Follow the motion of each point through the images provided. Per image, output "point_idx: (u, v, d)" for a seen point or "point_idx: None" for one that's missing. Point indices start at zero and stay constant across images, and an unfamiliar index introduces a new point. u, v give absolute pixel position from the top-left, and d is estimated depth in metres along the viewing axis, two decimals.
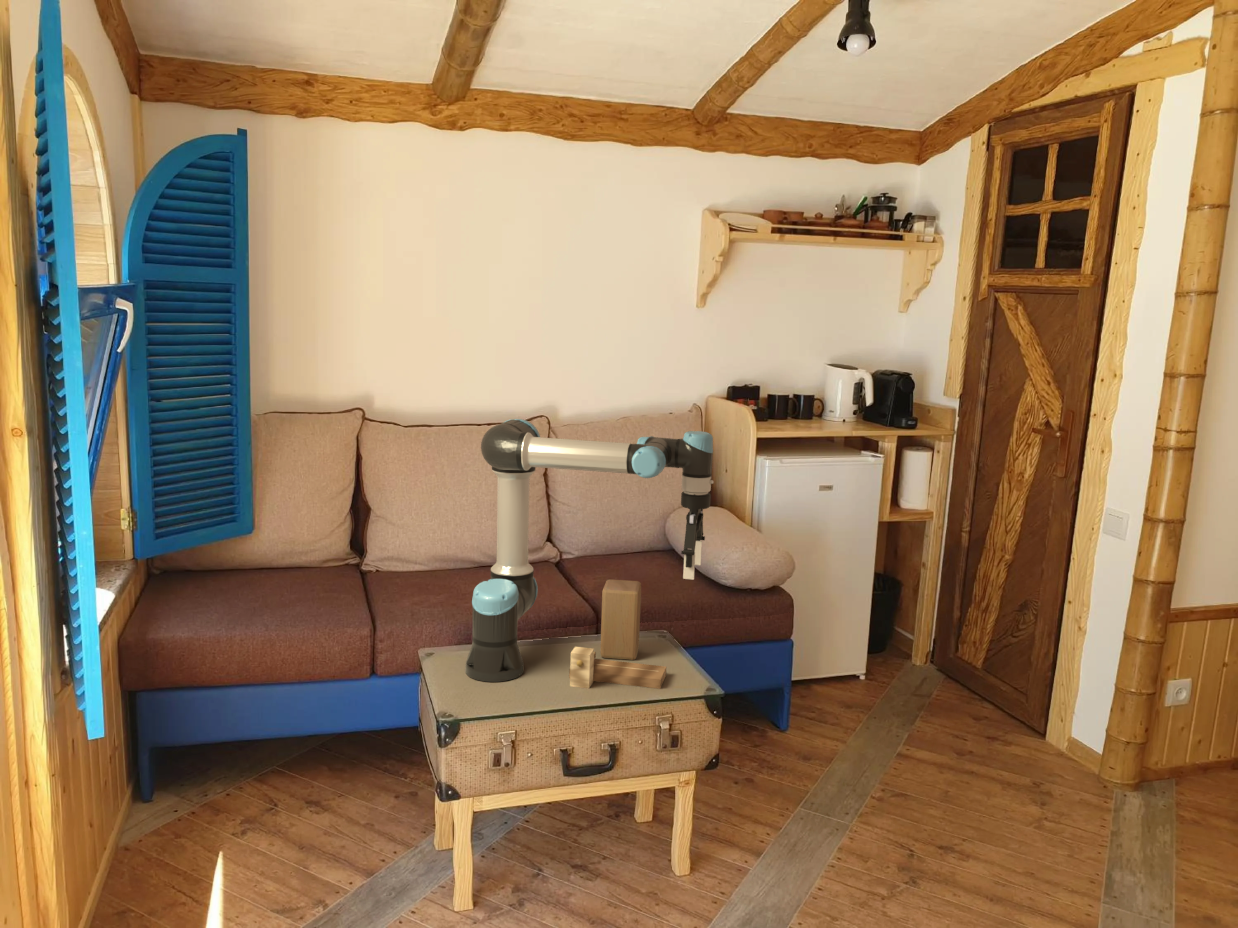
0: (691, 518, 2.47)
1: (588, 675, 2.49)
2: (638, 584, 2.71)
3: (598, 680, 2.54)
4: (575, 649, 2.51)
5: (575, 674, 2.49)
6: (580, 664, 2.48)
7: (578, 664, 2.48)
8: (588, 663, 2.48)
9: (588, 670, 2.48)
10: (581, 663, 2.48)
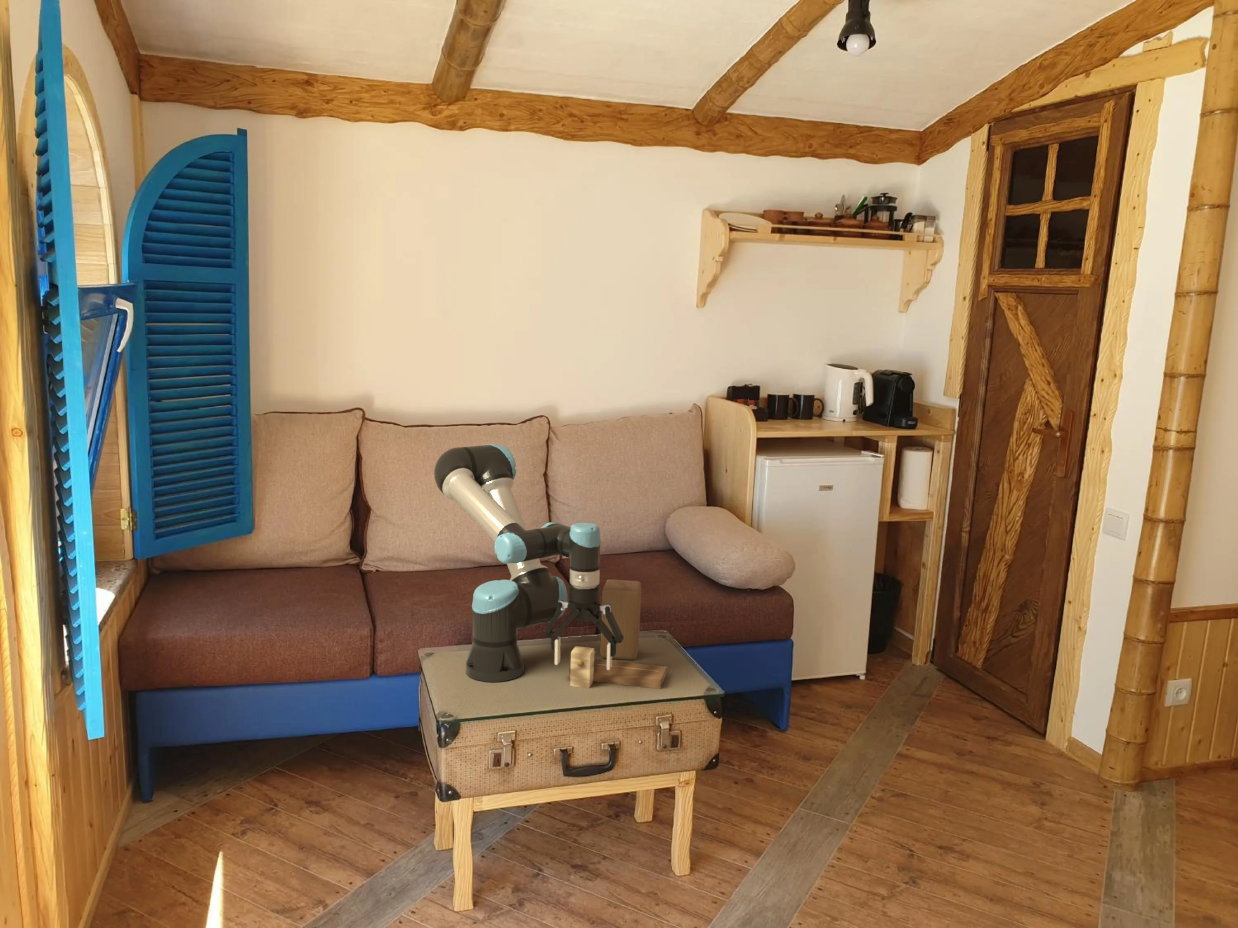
0: None
1: (588, 675, 2.49)
2: (638, 584, 2.71)
3: (598, 680, 2.54)
4: (575, 649, 2.51)
5: (575, 674, 2.50)
6: (580, 663, 2.49)
7: (578, 664, 2.49)
8: (588, 663, 2.48)
9: (588, 670, 2.49)
10: (581, 663, 2.48)
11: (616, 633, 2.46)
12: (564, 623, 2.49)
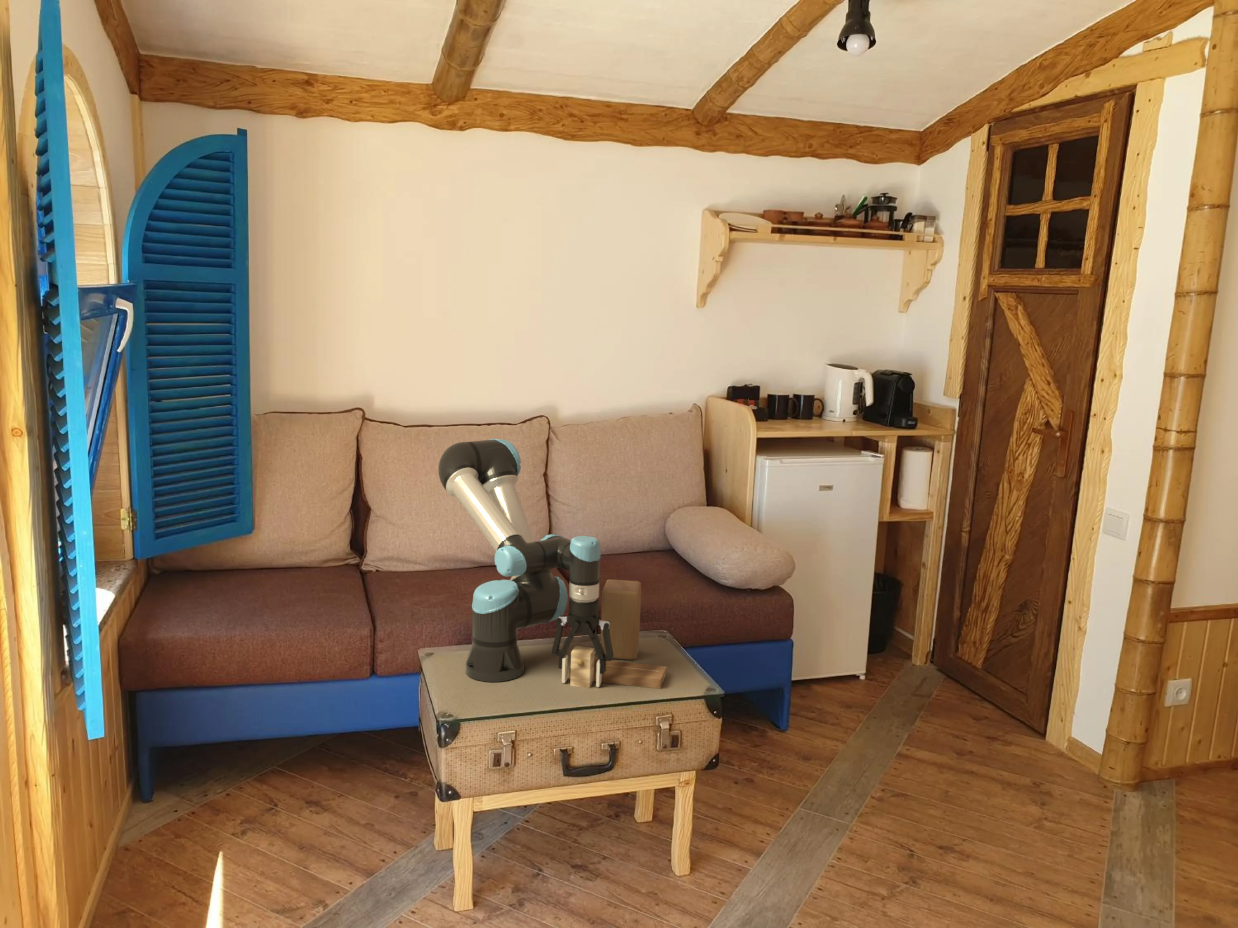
0: None
1: (588, 674, 2.49)
2: (638, 584, 2.71)
3: None
4: (575, 648, 2.51)
5: (575, 674, 2.50)
6: (580, 663, 2.49)
7: (578, 663, 2.49)
8: (588, 662, 2.49)
9: (588, 669, 2.49)
10: (581, 662, 2.49)
11: (608, 651, 2.48)
12: (567, 639, 2.49)
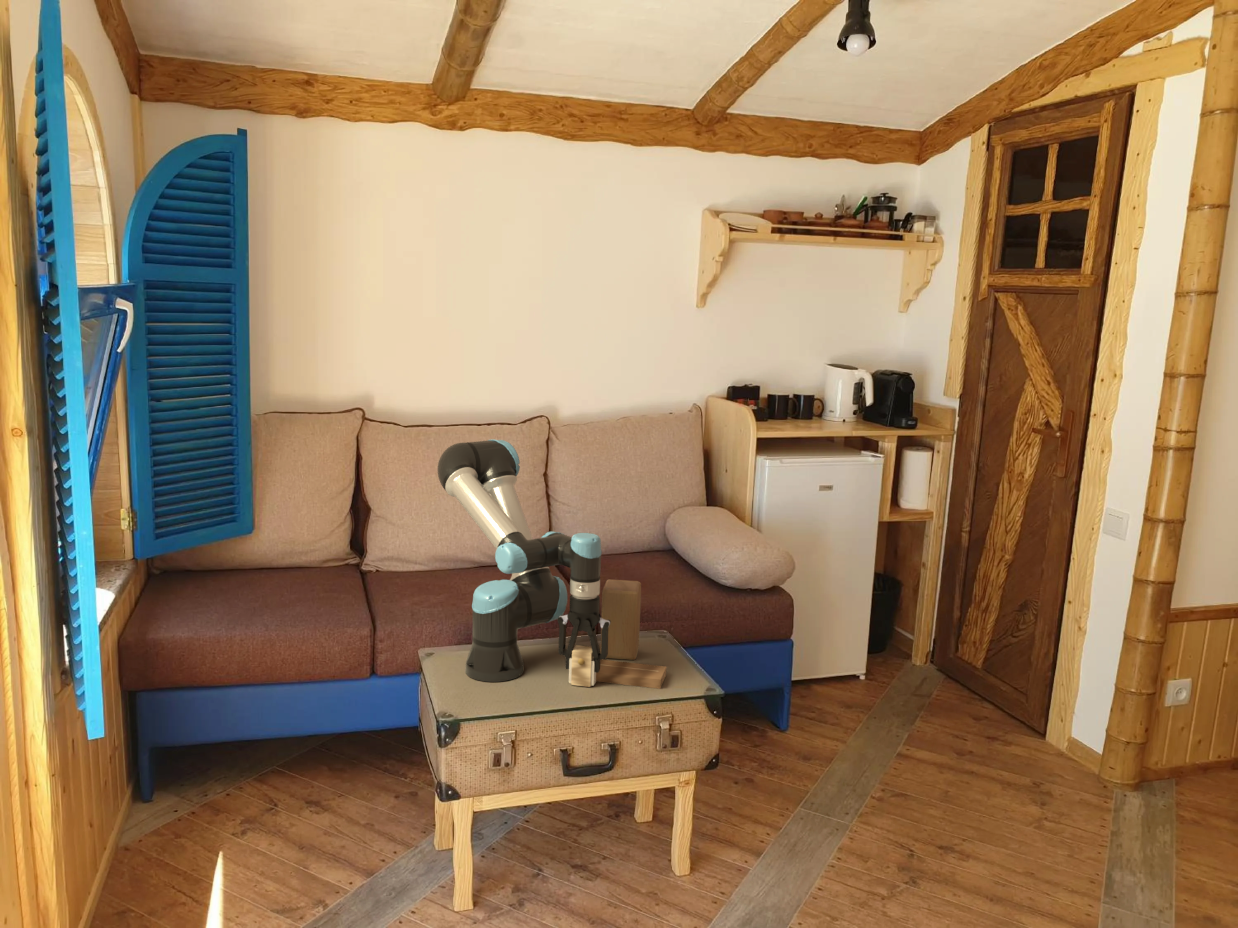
0: None
1: (589, 673, 2.49)
2: (638, 584, 2.71)
3: (598, 680, 2.54)
4: (576, 647, 2.51)
5: (576, 673, 2.50)
6: (581, 662, 2.49)
7: (579, 662, 2.49)
8: (589, 661, 2.49)
9: (589, 668, 2.49)
10: (582, 661, 2.49)
11: (603, 649, 2.48)
12: (571, 638, 2.49)
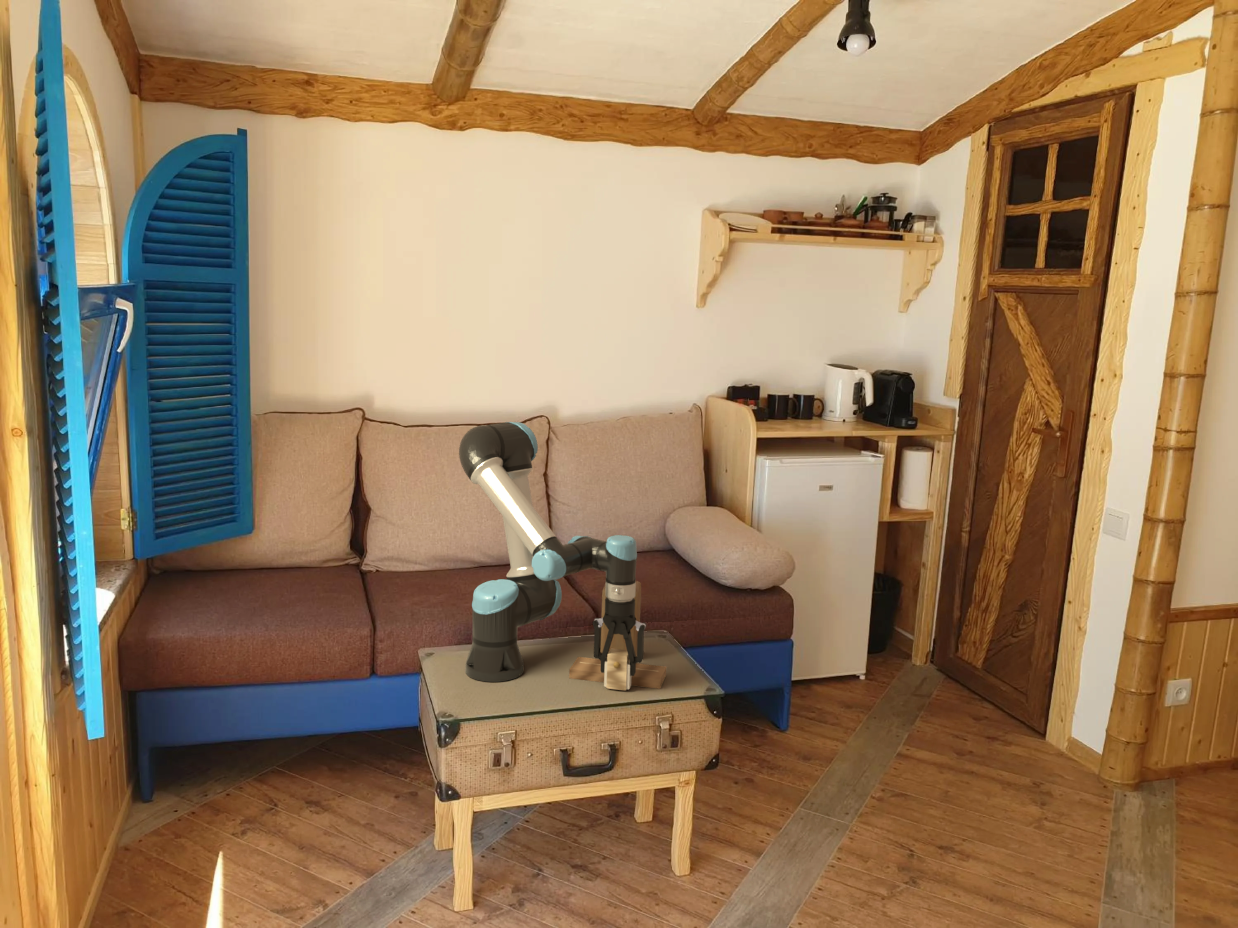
0: None
1: (625, 677, 2.47)
2: (638, 584, 2.71)
3: (598, 680, 2.54)
4: (611, 651, 2.50)
5: (612, 676, 2.48)
6: (617, 665, 2.47)
7: (615, 666, 2.47)
8: (625, 665, 2.47)
9: (625, 672, 2.47)
10: (618, 665, 2.47)
11: (639, 652, 2.46)
12: (607, 641, 2.47)
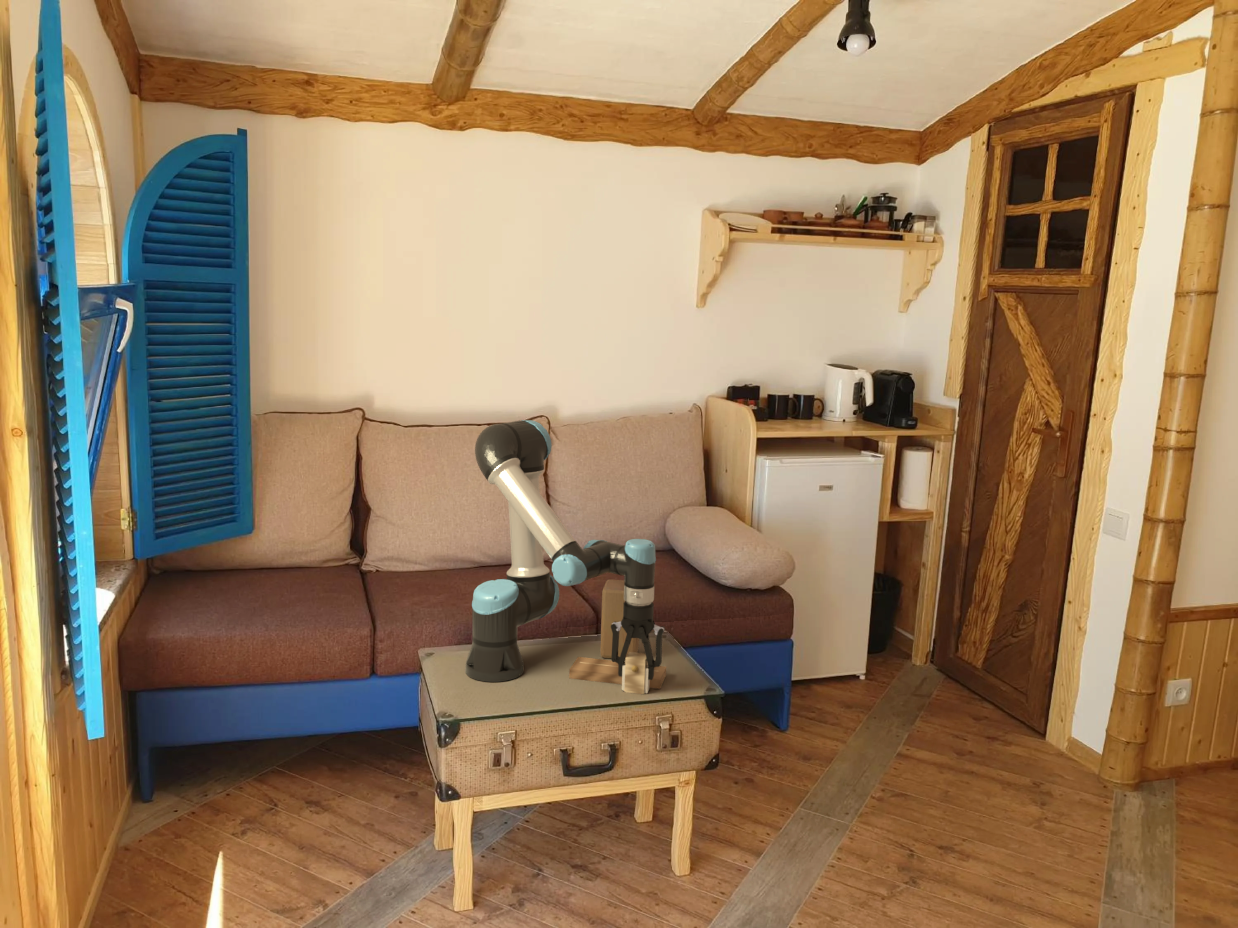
0: None
1: (643, 681, 2.46)
2: None
3: (598, 680, 2.54)
4: (629, 654, 2.49)
5: (630, 680, 2.47)
6: (635, 669, 2.46)
7: (633, 669, 2.46)
8: (643, 668, 2.46)
9: (643, 675, 2.46)
10: (636, 668, 2.46)
11: (658, 656, 2.45)
12: (625, 645, 2.46)
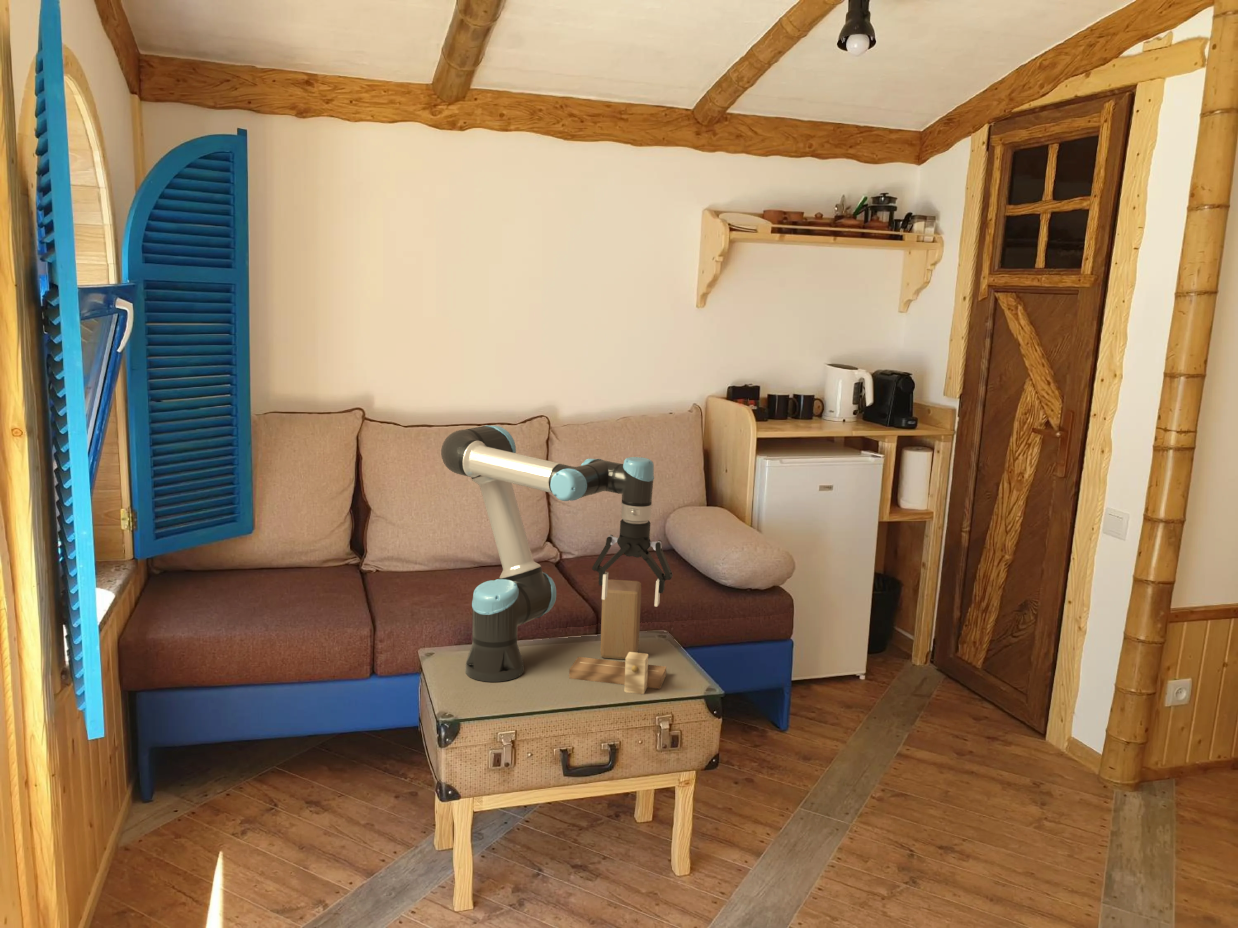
0: None
1: (643, 681, 2.46)
2: (638, 584, 2.71)
3: (598, 680, 2.54)
4: (629, 654, 2.49)
5: (630, 680, 2.47)
6: (635, 669, 2.46)
7: (633, 669, 2.46)
8: (643, 668, 2.46)
9: (643, 675, 2.46)
10: (636, 668, 2.46)
11: (666, 570, 2.44)
12: (613, 558, 2.46)
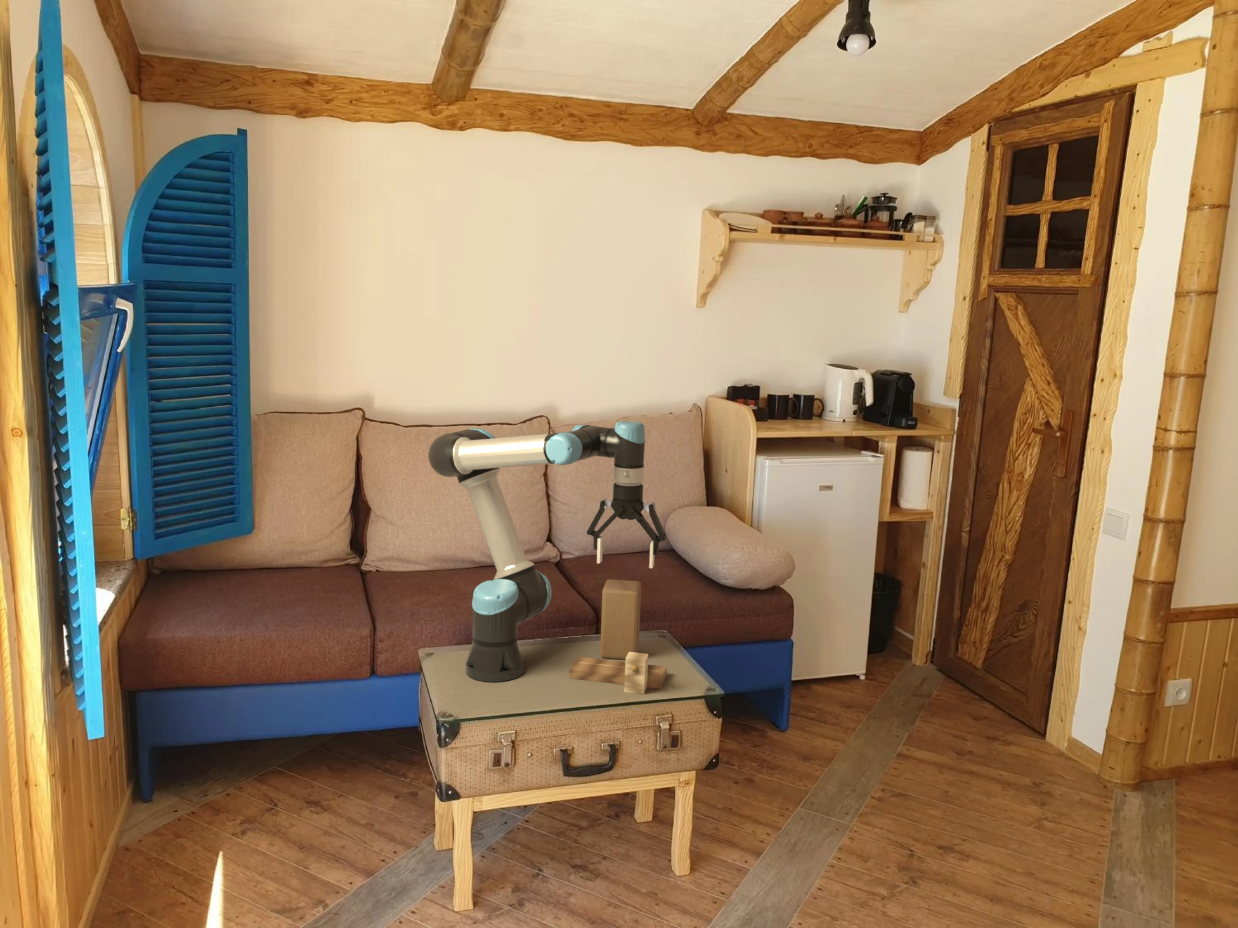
0: None
1: (643, 681, 2.46)
2: (638, 584, 2.71)
3: (598, 680, 2.54)
4: (629, 654, 2.49)
5: (630, 680, 2.47)
6: (635, 669, 2.46)
7: (633, 669, 2.46)
8: (643, 668, 2.46)
9: (643, 675, 2.46)
10: (636, 668, 2.46)
11: (659, 531, 2.47)
12: (607, 521, 2.49)
